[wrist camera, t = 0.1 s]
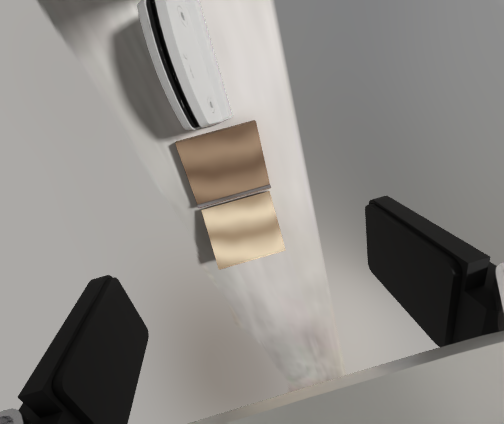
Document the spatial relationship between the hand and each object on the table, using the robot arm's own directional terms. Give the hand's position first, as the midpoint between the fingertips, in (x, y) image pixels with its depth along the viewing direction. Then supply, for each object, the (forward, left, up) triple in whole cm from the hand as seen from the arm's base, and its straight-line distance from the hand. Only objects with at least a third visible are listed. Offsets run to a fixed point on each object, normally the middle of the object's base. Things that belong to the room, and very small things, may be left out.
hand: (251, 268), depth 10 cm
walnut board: (+6, 0, -37) cm, 37 cm away
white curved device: (-9, -1, -37) cm, 38 cm away
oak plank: (+18, 0, -34) cm, 39 cm away
